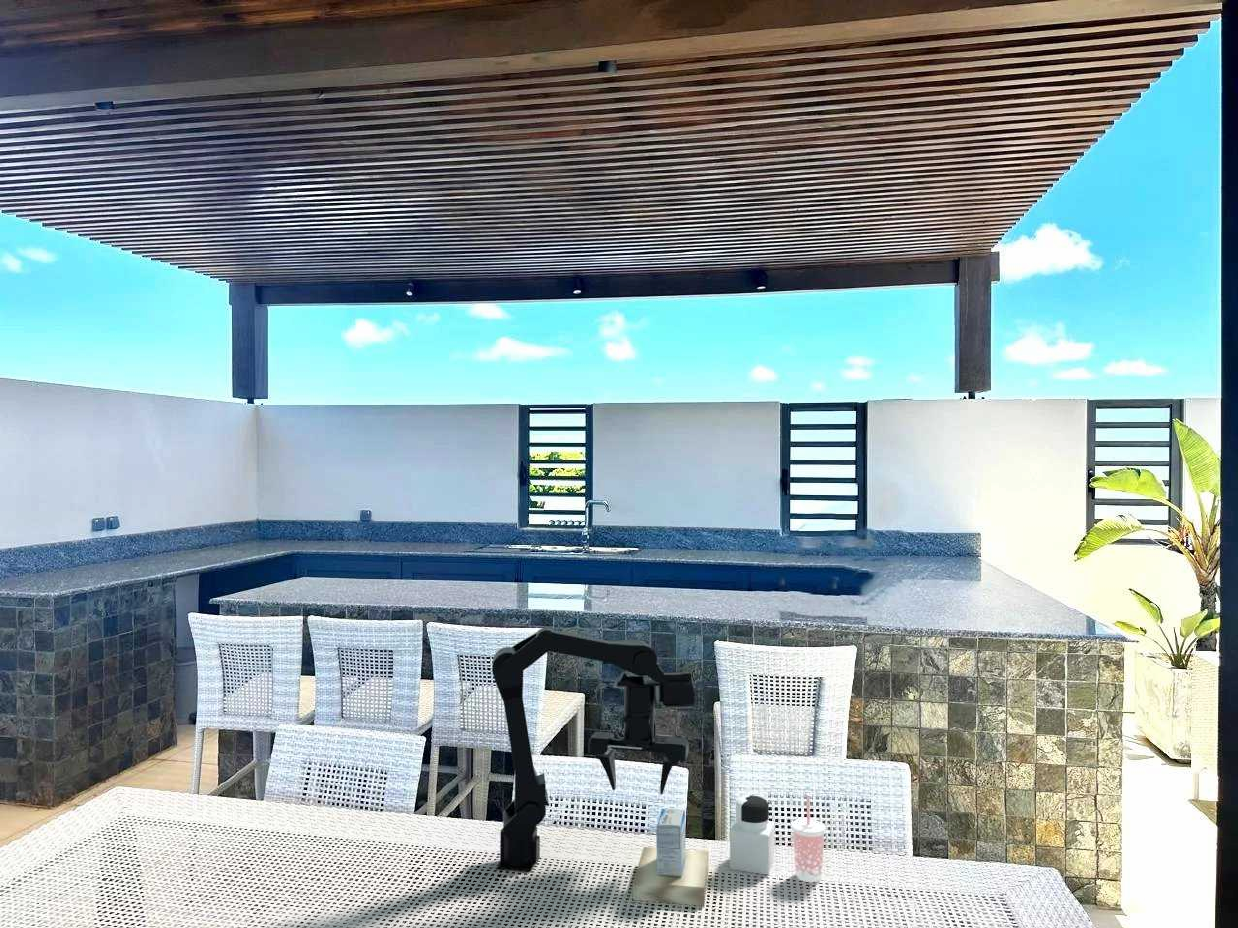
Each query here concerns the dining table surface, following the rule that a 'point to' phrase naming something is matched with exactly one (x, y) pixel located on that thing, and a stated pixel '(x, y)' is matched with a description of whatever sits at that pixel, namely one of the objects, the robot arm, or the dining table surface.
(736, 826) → the medicine bottle
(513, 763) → the robot arm
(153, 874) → the dining table surface
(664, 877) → the wood pedestal
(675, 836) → the medicine box
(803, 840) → the beverage cup
